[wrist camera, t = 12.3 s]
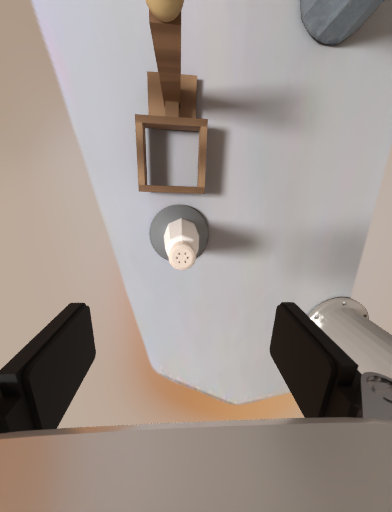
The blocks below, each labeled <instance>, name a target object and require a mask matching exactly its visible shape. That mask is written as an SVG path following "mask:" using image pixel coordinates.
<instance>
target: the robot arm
mask: <svg viewBox="0 0 392 512" xmlns="http://www.w3.org/2000/svg"><path fill="white" fill-rule="evenodd" d="M95 354H96V350H95V344H94V336H93V329H92V322H91V315H90V308H89V306H86V304H85V303H70V304H69V305H68V306H67V307H66V308H65V309H64V310H63V311H62V312H61V313H59V315H57V316H56V317H55V318H54V319H53V320H52V321H51V322H50V323H49V324H48V325H47V326H46V327H45V328H44V329H43V330H42V331H41V332H40V333H39V334H37V335H36V336H35V337H34V338H33V339H32V340H31V341H30V342H29V343H28V344H27V345H26V346H25V347H24V348H23V349H22V350H21V351H20V352H19V353H18V354H16V355H15V357H13V358H12V359H11V360H10V361H9V362H8V363H7V364H6V365H5V366H4V367H3V368H2V369H1V370H0V512H392V335H391V334H389V333H388V332H386V331H385V330H383V329H382V328H380V327H379V326H377V325H376V324H374V323H373V322H371V321H370V320H369V316H368V312H367V310H366V309H365V307H363V305H361V304H360V303H359V302H357V301H355V300H353V299H350V298H343V297H340V298H334V299H330V300H327V301H325V302H323V303H321V304H320V305H318V306H317V307H316V308H315V309H314V310H312V311H311V313H310V314H309V315H308V316H307V315H306V314H305V313H304V312H303V311H302V310H301V309H300V308H299V307H298V306H297V305H296V304H295V303H293V302H282V303H281V304H280V305H278V306H277V309H276V315H275V321H274V327H273V333H272V339H271V344H270V354H271V357H272V358H273V360H274V362H275V364H276V366H277V368H278V369H279V371H280V373H281V375H282V377H283V379H284V380H285V382H286V384H287V386H288V388H289V390H290V391H291V393H292V395H293V397H294V399H295V401H296V402H297V404H298V406H299V408H300V410H301V412H302V413H303V415H304V417H305V418H290V419H289V418H287V419H260V420H233V421H208V422H186V423H185V422H184V423H161V424H139V425H119V426H99V427H78V428H62V429H57V427H58V425H59V423H60V421H61V420H62V418H63V415H64V414H65V412H66V410H67V408H68V407H69V405H70V403H71V401H72V399H73V397H74V396H75V394H76V392H77V390H78V388H79V386H80V385H81V383H82V381H83V379H84V377H85V375H86V374H87V372H88V370H89V368H90V366H91V364H92V362H93V360H94V358H95Z"/></svg>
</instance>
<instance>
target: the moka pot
mask: <svg viewBox="0 0 392 512" xmlns="http://www.w3.org/2000/svg"><path fill="white" fill-rule="evenodd" d="M383 1H384V0H300V3H301V5H300V9H301V20H302V22H303V24H304V26H305V28H306V29H307V31H308V32H309V33H310V35H311V36H312V37H314V38H315V39H316V40H317V41H319V42H321V43H325V44H334V45H336V44H338V43H340V42H342V41H343V40H345V39H346V38H348V37H349V36H351V35H352V34H353V33H354V32H356V31H357V30H358V29H359V28H360V26H361V25H362V24H363V23H364V22H365V21H366V20H367V19H368V18H369V17H370V16H371V14H372V13H373V12H374V11H375V10H376V9H377V8H378V7H379V6H380V5H381V3H382V2H383Z"/></svg>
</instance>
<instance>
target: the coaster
mask: <svg viewBox="0 0 392 512" xmlns="http://www.w3.org/2000/svg"><path fill="white" fill-rule="evenodd" d="M180 218H182V219H185V220H187V221H189V222H192V223H194V224H195V227H196V229H197V232H198V234H199V249H198V252H197V255H196V257H197V256H198V255H200V253H201V252H202V251H203V250H204V248H205V246H206V244H207V241H208V227H207V224H206V222H205V220H204V218H203V217H202V216H201V214H200V213H199V212H198V211H196V210H195V209H193V208H191V207H189V206H185V205H172V206H169V207H166V208H164V209H163V210H161V211H160V212H159V213H158V214H157V215H156V216H155V218H154V219H153V221H152V223H151V226H150V240H151V243H152V246H153V248H154V249H155V251H156V252H157V253H158V254H159V255H160V256H161V257H163V258H164V259H166V260H168V261H169V257H168V255H167V253H166V250H165V243H164V234H165V231H166V229H167V226H168V224H169V223H171V222H173V221H176V220H178V219H180Z"/></svg>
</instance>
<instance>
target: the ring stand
mask: <svg viewBox="0 0 392 512" xmlns="http://www.w3.org/2000/svg"><path fill="white" fill-rule="evenodd" d="M146 3H147V5H148V8H149V22H150V28H151V34H152V39H153V45H154V51H155V56H156V62H157V67H158V72H147V76H148V106H149V115H137V114H135V125H136V144H137V164H138V184H139V191H143V192H171V193H200V194H204V191H205V168H206V145H207V123H208V119H197V118H196V91H197V76H194V75H182V74H181V9H182V6H183V3H184V0H146ZM145 128H156V129H172V130H188V131H199V154H198V184H197V187H182V186H156V185H147V166H146V140H145Z"/></svg>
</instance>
